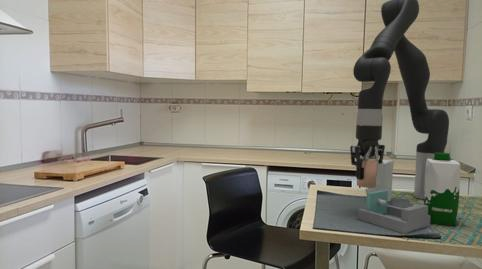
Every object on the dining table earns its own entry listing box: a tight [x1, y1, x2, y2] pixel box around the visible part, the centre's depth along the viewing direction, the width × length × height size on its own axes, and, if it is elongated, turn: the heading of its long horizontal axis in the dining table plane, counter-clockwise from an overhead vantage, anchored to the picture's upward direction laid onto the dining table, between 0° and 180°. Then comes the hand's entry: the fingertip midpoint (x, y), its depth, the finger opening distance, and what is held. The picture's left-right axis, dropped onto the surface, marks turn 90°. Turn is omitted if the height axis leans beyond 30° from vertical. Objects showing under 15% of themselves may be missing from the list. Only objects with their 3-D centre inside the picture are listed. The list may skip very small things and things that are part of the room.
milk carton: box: [423, 152, 462, 227], centre depth 104 cm, size 9×9×20 cm
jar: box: [356, 157, 377, 189], centre depth 110 cm, size 6×6×9 cm
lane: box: [356, 203, 431, 235], centre depth 103 cm, size 12×15×6 cm
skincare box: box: [366, 158, 395, 203], centre depth 127 cm, size 8×6×15 cm
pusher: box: [365, 190, 389, 214], centre depth 106 cm, size 9×3×7 cm, turn 124°
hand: (366, 178), depth 110 cm, fingers closed on jar, 5 cm apart
